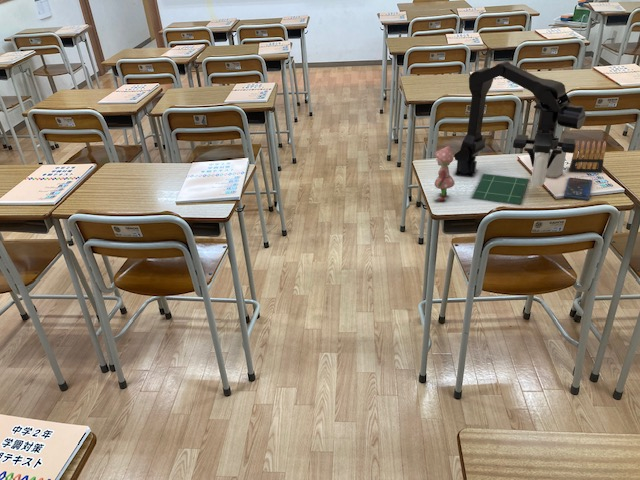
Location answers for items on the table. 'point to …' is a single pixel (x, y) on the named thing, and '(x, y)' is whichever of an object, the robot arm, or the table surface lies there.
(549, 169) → the can
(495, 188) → the cutting mat
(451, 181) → the cartoon character
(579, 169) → the ammunition clip
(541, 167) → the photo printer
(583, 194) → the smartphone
